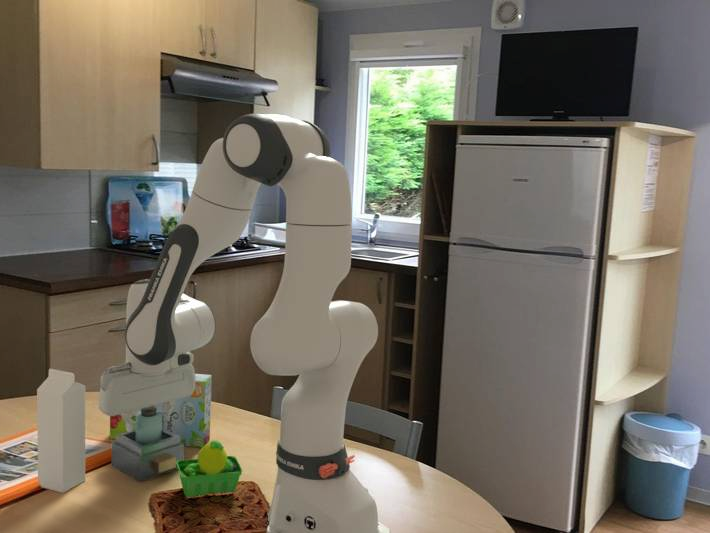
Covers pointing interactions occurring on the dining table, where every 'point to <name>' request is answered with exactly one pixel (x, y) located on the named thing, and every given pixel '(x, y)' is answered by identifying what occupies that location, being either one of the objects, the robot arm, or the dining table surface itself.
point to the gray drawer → (146, 455)
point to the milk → (61, 432)
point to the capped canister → (148, 426)
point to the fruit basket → (209, 471)
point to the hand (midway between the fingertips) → (148, 426)
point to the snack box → (182, 415)
